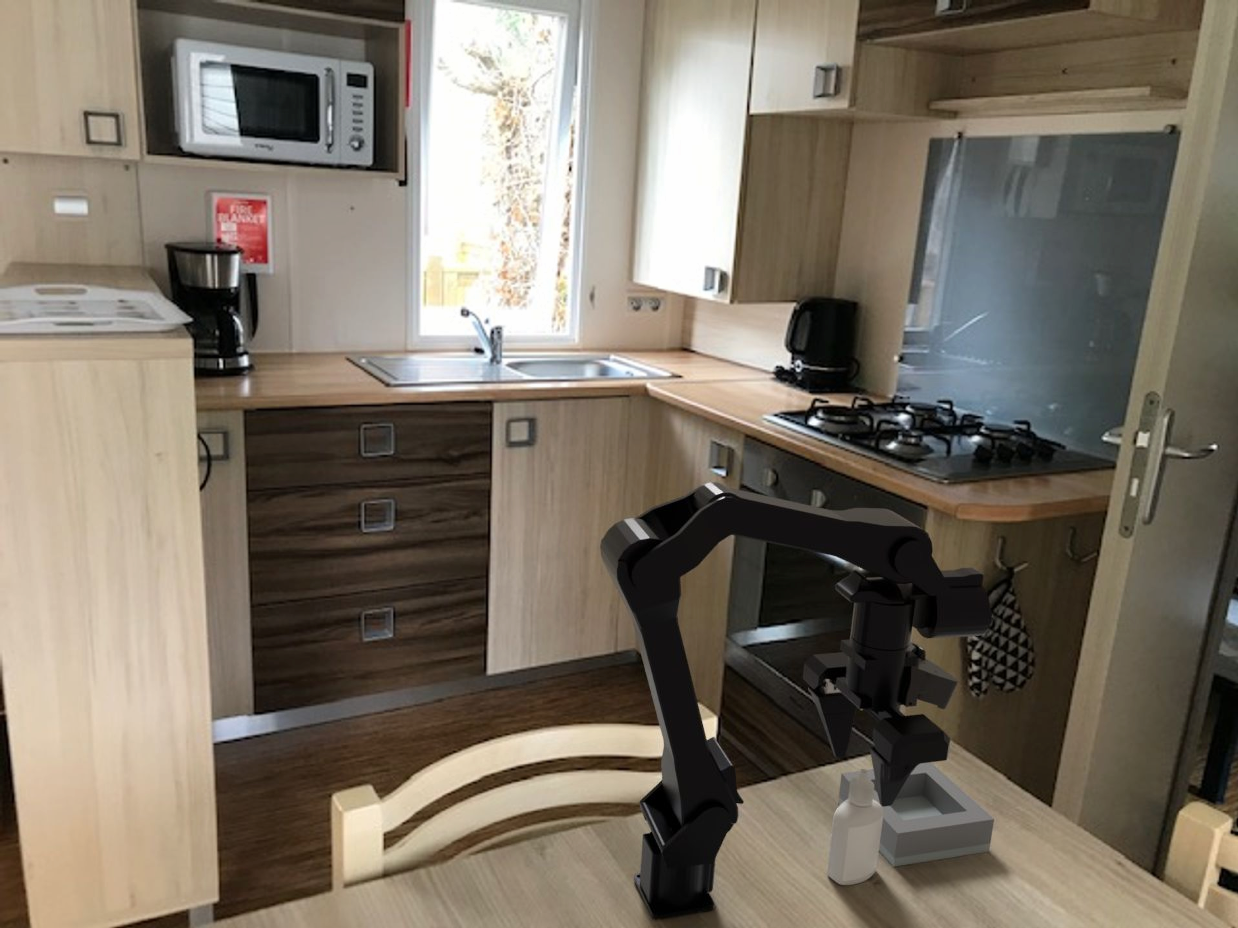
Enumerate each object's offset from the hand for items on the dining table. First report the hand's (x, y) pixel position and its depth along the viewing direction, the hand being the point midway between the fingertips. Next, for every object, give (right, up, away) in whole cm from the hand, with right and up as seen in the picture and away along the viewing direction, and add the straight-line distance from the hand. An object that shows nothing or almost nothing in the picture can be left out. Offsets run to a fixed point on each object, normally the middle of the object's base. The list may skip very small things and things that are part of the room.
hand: (861, 780), depth 104 cm
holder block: (+8, -9, +11) cm, 17 cm away
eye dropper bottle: (0, -11, +3) cm, 11 cm away
